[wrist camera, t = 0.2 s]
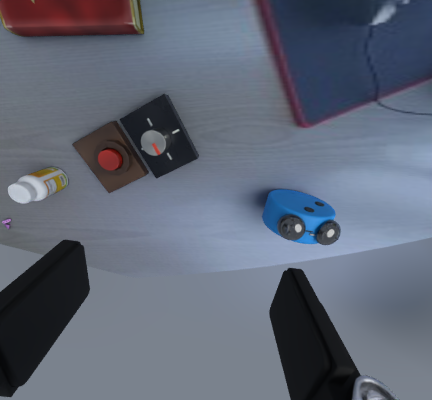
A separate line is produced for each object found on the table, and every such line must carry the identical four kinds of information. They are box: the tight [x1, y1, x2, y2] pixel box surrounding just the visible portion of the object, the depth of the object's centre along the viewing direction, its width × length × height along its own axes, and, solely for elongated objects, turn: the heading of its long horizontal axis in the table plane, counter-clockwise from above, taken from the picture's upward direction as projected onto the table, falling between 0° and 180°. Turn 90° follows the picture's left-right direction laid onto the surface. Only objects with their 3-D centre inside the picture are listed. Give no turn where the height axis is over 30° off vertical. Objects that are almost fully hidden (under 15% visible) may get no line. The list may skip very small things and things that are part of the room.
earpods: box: [2, 219, 11, 229], centre depth 51 cm, size 3×2×2 cm
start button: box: [98, 149, 122, 170], centre depth 40 cm, size 4×4×2 cm
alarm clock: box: [262, 189, 341, 245], centre depth 41 cm, size 13×6×15 cm, turn 81°
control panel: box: [120, 94, 199, 178], centre depth 41 cm, size 13×10×3 cm
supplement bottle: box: [8, 167, 68, 203], centre depth 42 cm, size 5×5×10 cm
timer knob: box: [141, 128, 171, 156], centre depth 37 cm, size 4×4×5 cm
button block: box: [72, 121, 149, 193], centre depth 42 cm, size 12×10×4 cm
